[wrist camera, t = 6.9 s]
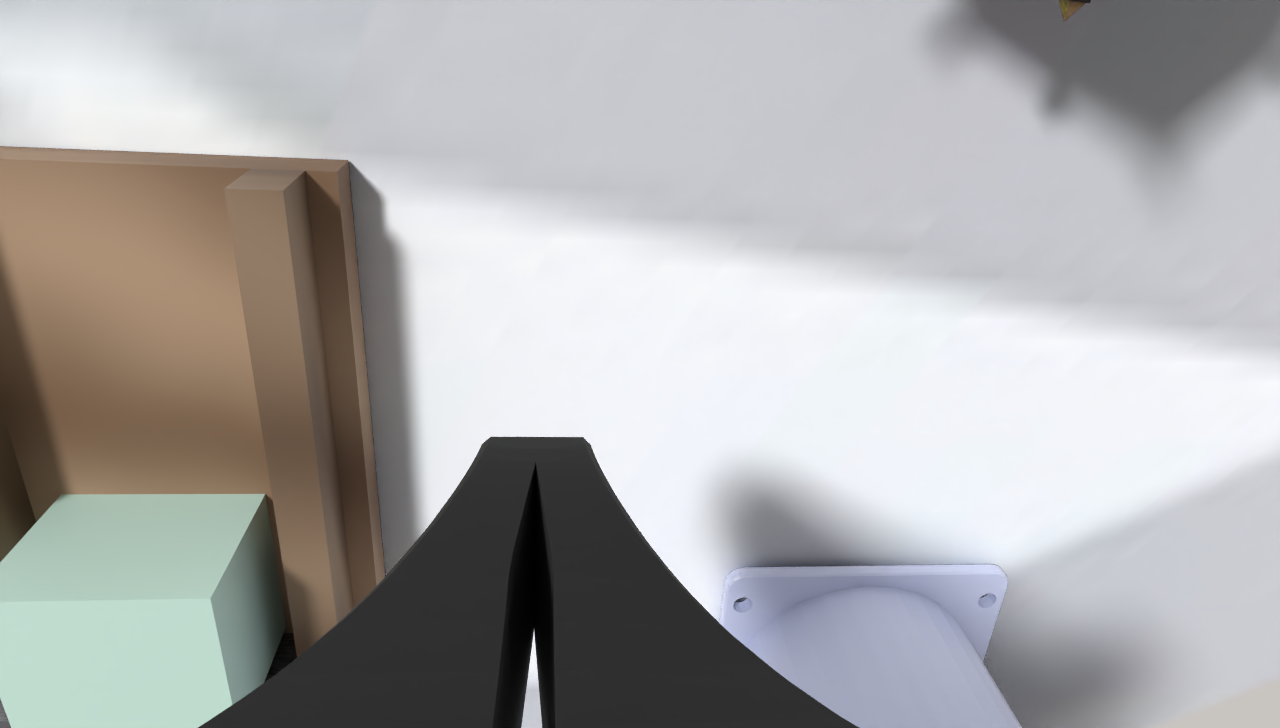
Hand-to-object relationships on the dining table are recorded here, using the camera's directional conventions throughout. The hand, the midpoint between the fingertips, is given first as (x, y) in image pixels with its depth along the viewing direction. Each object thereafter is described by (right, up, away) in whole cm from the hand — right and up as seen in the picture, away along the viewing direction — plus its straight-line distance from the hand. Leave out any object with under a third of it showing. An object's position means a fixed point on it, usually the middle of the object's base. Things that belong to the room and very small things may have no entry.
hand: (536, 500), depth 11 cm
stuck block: (-10, -3, +9) cm, 13 cm away
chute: (-9, 0, +8) cm, 13 cm away
